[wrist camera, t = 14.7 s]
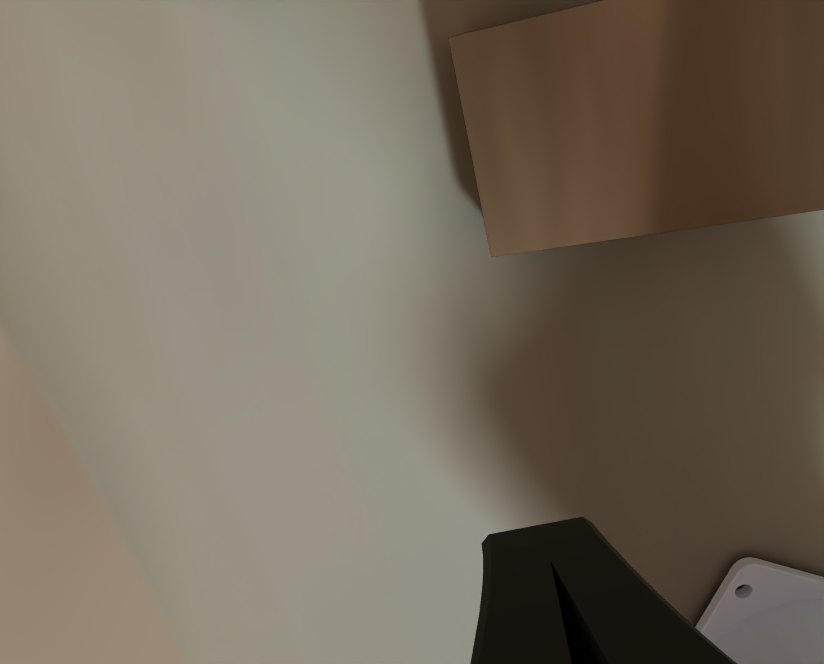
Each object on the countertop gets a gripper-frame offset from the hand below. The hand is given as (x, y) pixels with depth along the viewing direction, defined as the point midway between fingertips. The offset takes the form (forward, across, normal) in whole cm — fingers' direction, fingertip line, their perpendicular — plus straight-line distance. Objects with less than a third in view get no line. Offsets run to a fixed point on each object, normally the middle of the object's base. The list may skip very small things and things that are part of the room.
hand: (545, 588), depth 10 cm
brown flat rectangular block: (+10, -1, -4) cm, 10 cm away
